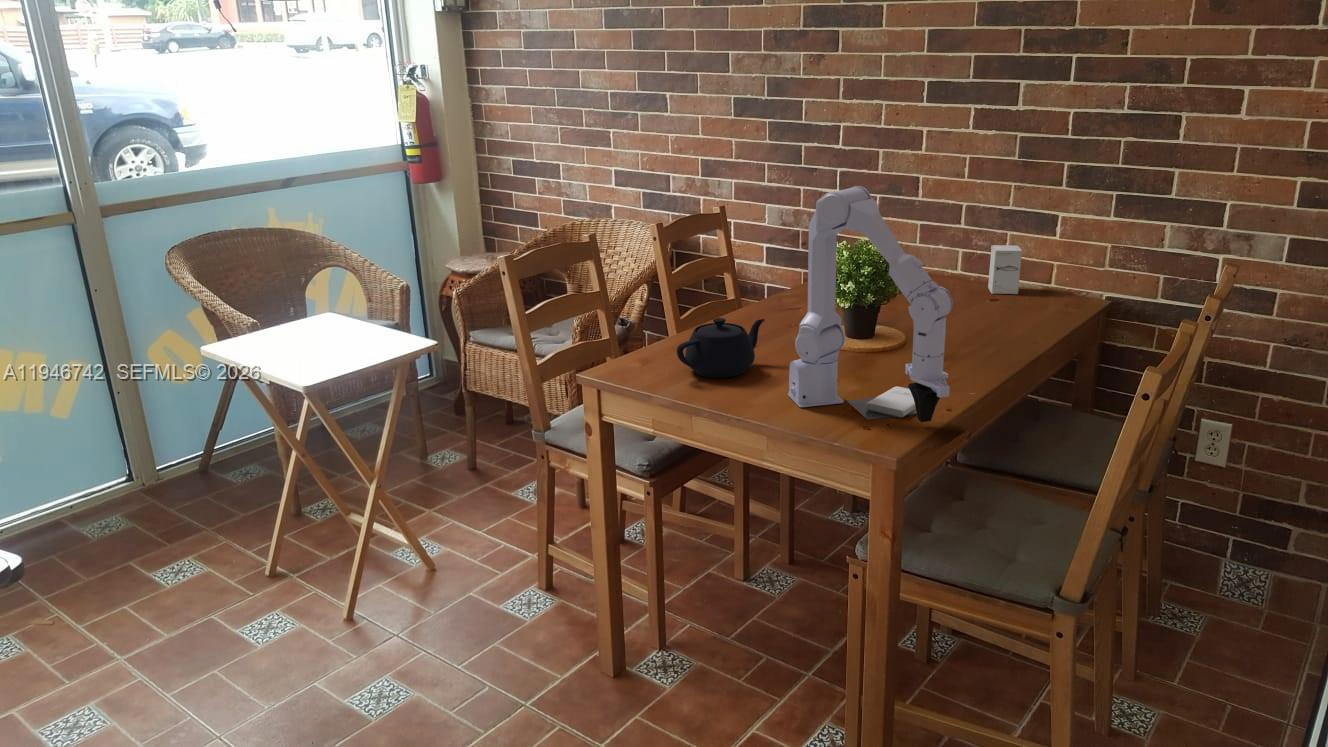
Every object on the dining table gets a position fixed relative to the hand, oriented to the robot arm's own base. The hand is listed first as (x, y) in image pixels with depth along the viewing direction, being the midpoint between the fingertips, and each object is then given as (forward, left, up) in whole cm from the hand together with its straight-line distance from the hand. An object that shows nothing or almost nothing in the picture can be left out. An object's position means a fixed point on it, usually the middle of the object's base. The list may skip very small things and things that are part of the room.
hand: (924, 420), depth 195 cm
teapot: (-28, +44, -1) cm, 52 cm away
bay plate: (-2, +12, -1) cm, 12 cm away
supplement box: (+66, +88, -1) cm, 110 cm away
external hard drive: (0, +12, -1) cm, 12 cm away
